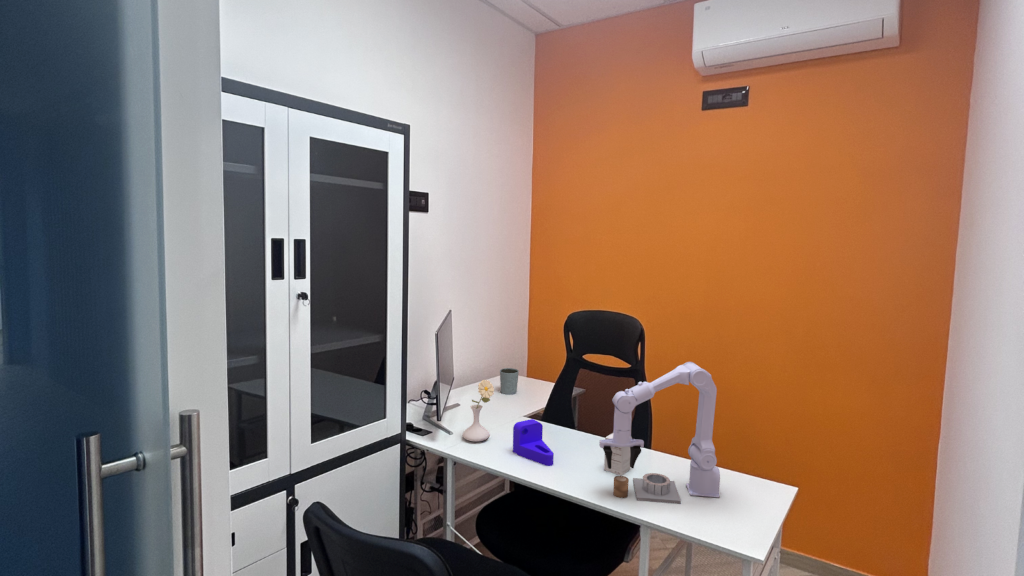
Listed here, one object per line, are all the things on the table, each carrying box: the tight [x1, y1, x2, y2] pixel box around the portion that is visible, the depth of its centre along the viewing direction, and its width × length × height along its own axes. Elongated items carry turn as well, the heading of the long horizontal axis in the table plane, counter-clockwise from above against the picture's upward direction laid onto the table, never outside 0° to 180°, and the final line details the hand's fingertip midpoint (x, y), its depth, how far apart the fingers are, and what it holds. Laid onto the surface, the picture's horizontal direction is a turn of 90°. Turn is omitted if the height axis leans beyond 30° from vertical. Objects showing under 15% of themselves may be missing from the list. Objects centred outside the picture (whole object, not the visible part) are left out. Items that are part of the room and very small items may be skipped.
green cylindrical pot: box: [499, 367, 520, 396], centre depth 291 cm, size 10×10×12 cm
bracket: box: [512, 418, 554, 467], centre depth 210 cm, size 18×11×12 cm, turn 33°
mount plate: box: [632, 477, 682, 505], centre depth 185 cm, size 14×14×1 cm
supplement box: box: [603, 432, 633, 476], centre depth 200 cm, size 7×7×13 cm
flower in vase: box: [462, 379, 495, 442], centre depth 227 cm, size 13×11×25 cm
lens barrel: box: [642, 472, 671, 495], centre depth 185 cm, size 9×9×4 cm
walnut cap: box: [612, 475, 629, 499], centre depth 182 cm, size 5×5×6 cm
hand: (620, 467), depth 183 cm, fingers open, 7 cm apart
